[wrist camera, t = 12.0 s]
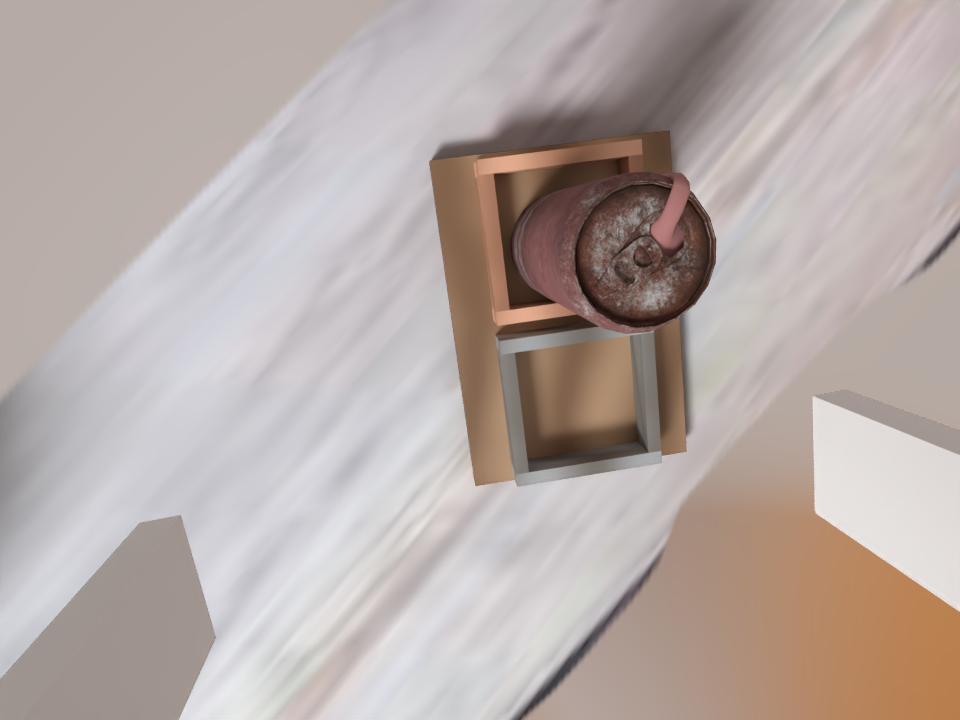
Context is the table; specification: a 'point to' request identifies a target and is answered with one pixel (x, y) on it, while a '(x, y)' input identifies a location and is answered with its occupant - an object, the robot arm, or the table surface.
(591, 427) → the board
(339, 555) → the table surface
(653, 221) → the can
